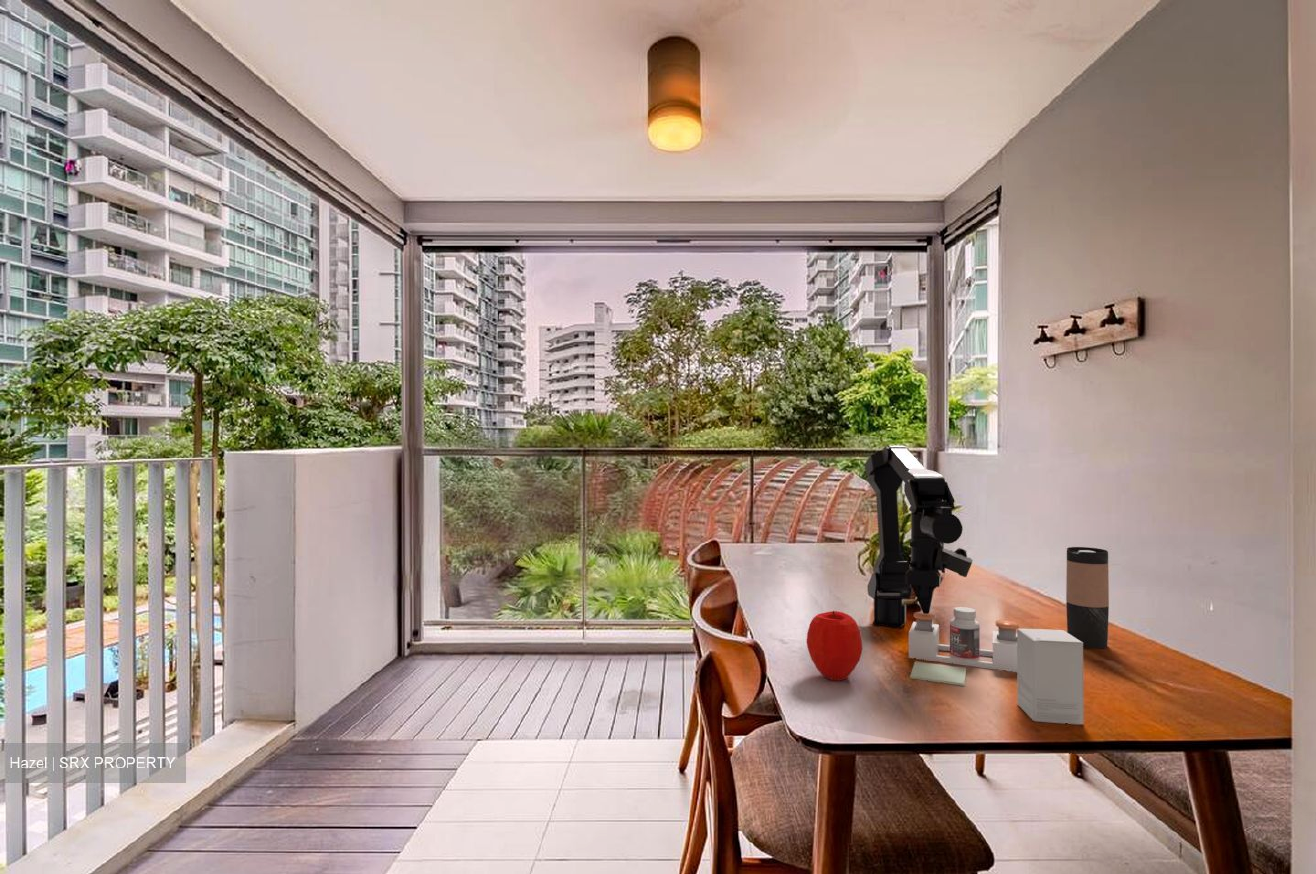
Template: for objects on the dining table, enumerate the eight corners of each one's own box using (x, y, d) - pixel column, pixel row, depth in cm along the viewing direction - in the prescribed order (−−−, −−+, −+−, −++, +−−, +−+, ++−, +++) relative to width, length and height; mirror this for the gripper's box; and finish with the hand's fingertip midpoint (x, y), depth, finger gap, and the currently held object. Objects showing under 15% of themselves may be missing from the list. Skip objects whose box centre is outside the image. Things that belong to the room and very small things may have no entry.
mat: (910, 678, 124) (910, 675, 124) (915, 663, 132) (915, 661, 132) (964, 686, 120) (964, 683, 120) (966, 670, 128) (966, 668, 128)
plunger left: (912, 640, 138) (912, 615, 138) (914, 635, 141) (914, 611, 141) (934, 643, 136) (934, 618, 136) (935, 637, 139) (935, 613, 139)
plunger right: (995, 650, 131) (995, 624, 131) (995, 644, 134) (995, 619, 134) (1019, 653, 129) (1019, 627, 129) (1018, 647, 133) (1018, 622, 133)
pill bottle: (946, 659, 135) (946, 609, 135) (954, 652, 139) (954, 604, 139) (975, 665, 131) (975, 614, 131) (983, 658, 135) (983, 608, 135)
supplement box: (1085, 725, 104) (1085, 642, 104) (1032, 722, 105) (1032, 640, 105) (1065, 707, 111) (1064, 629, 111) (1015, 703, 112) (1015, 627, 112)
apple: (813, 665, 131) (813, 601, 131) (866, 672, 127) (866, 607, 127) (800, 681, 122) (800, 613, 122) (857, 690, 118) (857, 620, 118)
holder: (908, 657, 135) (908, 632, 135) (913, 645, 144) (913, 621, 144) (1022, 673, 127) (1022, 646, 127) (1020, 659, 135) (1020, 633, 135)
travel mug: (1105, 641, 147) (1105, 548, 147) (1112, 651, 140) (1111, 553, 140) (1064, 637, 150) (1064, 545, 150) (1068, 646, 143) (1068, 551, 143)
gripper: (968, 545, 126) (968, 629, 126) (971, 533, 143) (971, 607, 143) (904, 541, 131) (904, 622, 131) (914, 529, 148) (914, 601, 148)
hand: (926, 613), depth 138 cm, fingers closed
